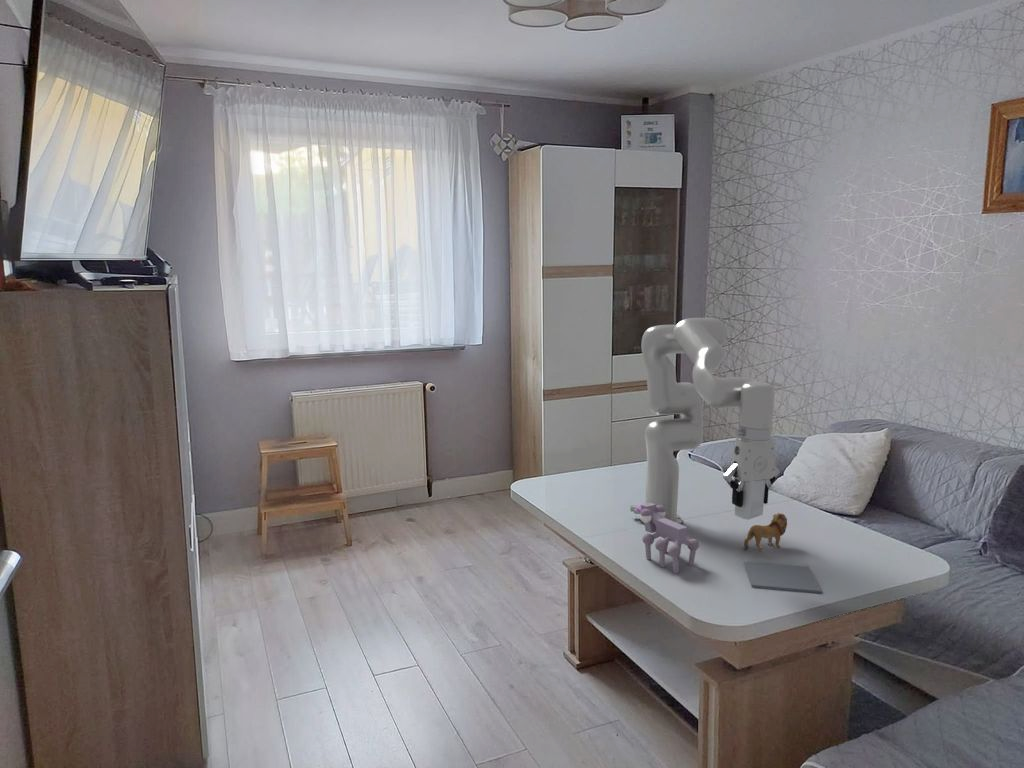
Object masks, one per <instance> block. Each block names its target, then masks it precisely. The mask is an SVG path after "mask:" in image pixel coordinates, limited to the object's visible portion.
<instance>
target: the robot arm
mask: <svg viewBox="0 0 1024 768" xmlns="http://www.w3.org/2000/svg"><path fill="white" fill-rule="evenodd" d="M727 333H728V331H727V328H726V325H725V324H724V322H722V321H721V320H720V319H718V318H717V317H716V318H715V317H689V318H684V319H682V320H680V321H678V323H676V324H661V325H660V324H659V325H654V326H650V327H648V328H647V329H646V330H645V331H644V333H643V335H642V338H641V344H640V345H641V346H640V347H641V349H640V350H641V354H642V358H643V361H644V364H645V369H646V384H647V398H648V399H647V400H648V407H649V408H648V409H649V410H650V411H651V413H652V414H654V415H658V416H667V415H680V418H668V419H666V418H665V419H656V420H654V421H651V422H650V423H649V424H648V425H647V426H646V427H645V430H644V438H645V440H644V441H645V447H646V483H645V484H646V485H645V486H646V488H645V502H644V503H643V504H646V503H653V504H656V506H657V505H663V506H664V507H665V509H666V511H665V512H666V514H665V516H664V517H663V518H666V519H669V520H671V521H673V522H676V523H678V524H681V525H682V522H683V519H682V518H683V517H682V516H680V515H679V514H678V498H679V496H678V495H679V482H680V481H679V478H680V477H679V476H680V465H679V462H678V460H677V458H676V457H675V455H674V453H673V452H676V451H686V450H694V449H697V448H698V447H700V446H701V444H702V442H703V440H704V428H703V427H704V426H703V425H704V423H703V422H704V421H703V404H702V403H703V402H702V400H703V401H704V402H705V403H706V404H707V405H708V406H710V407H712V408H715V409H724V408H739V417H738V418H739V419H738V429H736V430H735V431H734V435H735V436H737V438H735V442H734V446H733V449H732V454H731V460H730V461H731V463H730V467H729V468H728V469H727V471H726V472H725V473H723V474H722V478H723V479H724V480H725V481H726V483H727V484H728V485H729V487H730V489H732V491H731V492H732V493H731V504H732V505H734V506H735V505H736V506H738V507H742V505H743V491H741V490H742V488H743V485H744V483H745V482H750V481H751V474H753V478H752V481H760V480H765V493H764V505H766V504H768V503H769V489H771V487H772V484H773V483H774V481H775V480H776V478H777V476H778V475H779V474H780V472H781V471H780V469H779V468H778V467H777V466H776V446H775V442H774V438H772V429H773V428H772V427H773V413H774V401H775V400H774V399H775V388H774V386H773V385H772V384H771V383H768V382H764V381H762V382H761V381H759V380H758V379H756V378H755V377H752V376H731V377H729V376H728V377H727V376H725V377H716V376H715V375H714V374H713V373H712V371H714V370H716V369H717V368H718V367H719V366H720V365H721V364H722V363H723V361H724V359H725V354H726V352H725V349H724V347H723V345H724V344H725V342H726V340H727V337H728V336H727V335H728V334H727ZM667 354H671V355H672V354H673V355H674V354H686V356H687V357H688V359H689V360H691V362H692V364H693V368H692V372H691V373H692V382H687V381H683V382H677V374H676V372H677V371H676V367H675V364H674V363H673V361H672V359H671V358H670V357H669V356H668V355H667ZM737 475H738V477H737ZM738 480H740V481H739V483H738ZM737 483H738V484H737ZM637 506H638V505H633V504H630V509H629V510H630V511H629V512H633V514H635V515H640V513H639V512H638V510H637V509H636V508H635V507H637ZM639 520H640V521H641V519H640V518H639ZM642 523H643V524H644V522H642Z"/></svg>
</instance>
